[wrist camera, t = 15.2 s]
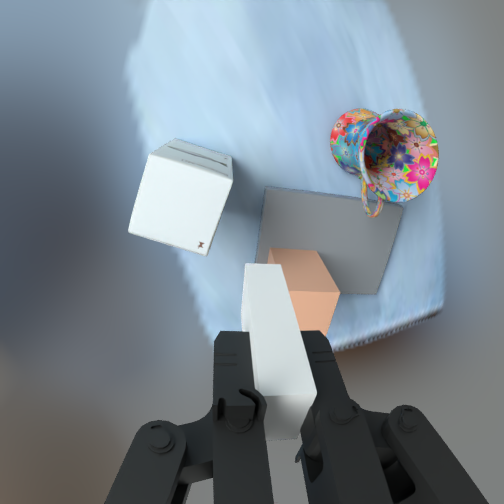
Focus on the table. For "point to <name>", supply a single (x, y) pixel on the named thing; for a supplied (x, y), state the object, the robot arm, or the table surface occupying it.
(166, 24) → the table surface
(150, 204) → the supplement box
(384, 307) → the table surface
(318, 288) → the peach tan brick
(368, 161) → the mug
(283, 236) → the board
